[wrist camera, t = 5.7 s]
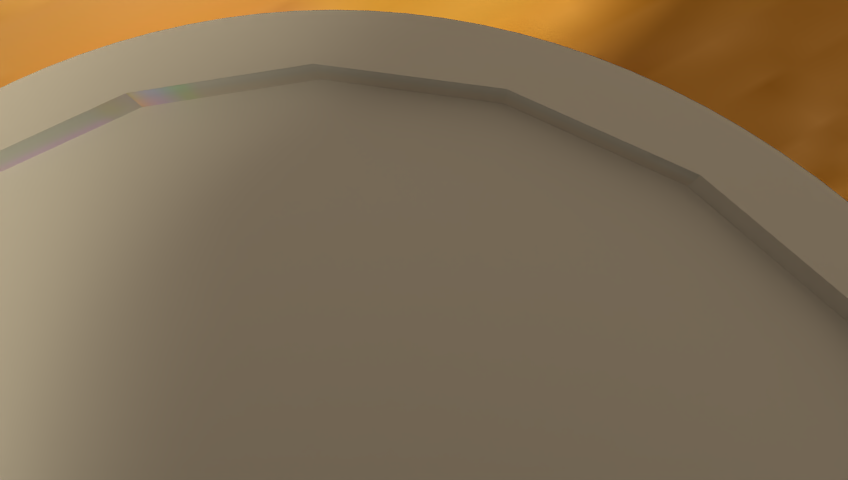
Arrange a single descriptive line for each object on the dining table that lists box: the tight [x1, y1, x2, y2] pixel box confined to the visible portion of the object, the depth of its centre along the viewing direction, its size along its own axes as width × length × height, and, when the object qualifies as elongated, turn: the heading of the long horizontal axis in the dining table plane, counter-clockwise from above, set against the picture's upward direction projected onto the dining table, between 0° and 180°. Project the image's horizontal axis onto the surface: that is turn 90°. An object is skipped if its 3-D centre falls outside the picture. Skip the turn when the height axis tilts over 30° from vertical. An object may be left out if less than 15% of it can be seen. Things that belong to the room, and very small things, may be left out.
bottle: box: [0, 10, 848, 480], centre depth 9 cm, size 7×7×15 cm
